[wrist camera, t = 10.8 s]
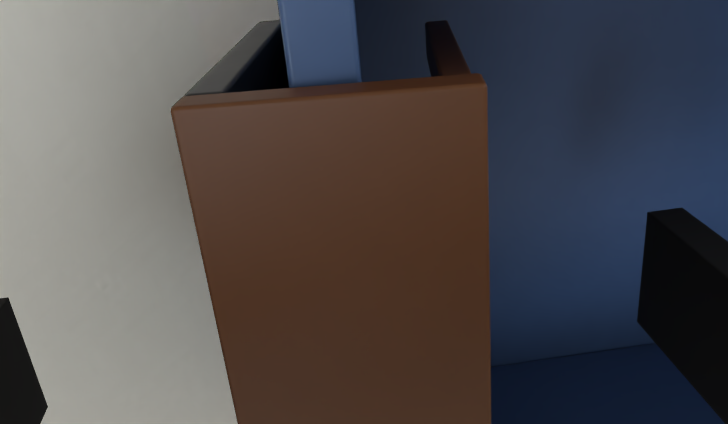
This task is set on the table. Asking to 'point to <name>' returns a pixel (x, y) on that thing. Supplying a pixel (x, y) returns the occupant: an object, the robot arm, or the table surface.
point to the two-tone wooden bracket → (344, 236)
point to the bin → (564, 174)
